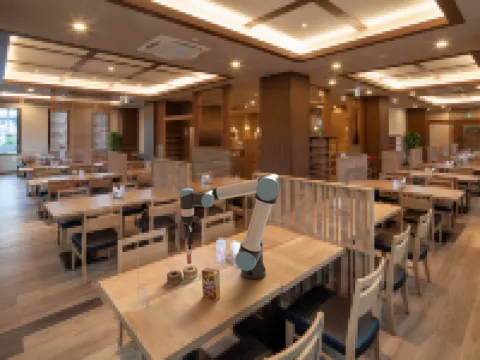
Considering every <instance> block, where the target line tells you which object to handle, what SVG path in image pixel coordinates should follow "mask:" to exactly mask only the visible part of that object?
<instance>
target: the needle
mask: <svg viewBox="0 0 480 360" xmlns="http://www.w3.org/2000/svg"><path fill="white" fill-rule="evenodd" d="M186 243H187V237H186ZM186 243H185V250H186V249H187V245H186ZM186 264H187V265H191V264H192V254H189V255H187V254H186Z"/></svg>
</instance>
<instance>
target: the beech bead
mask: <svg viewBox="0 0 480 360" xmlns="http://www.w3.org/2000/svg"><path fill="white" fill-rule="evenodd" d="M198 273H199V271H198V267H197V266H195V265H188V266H185V267H184V268H182V275H183V277H184V279H186V280H192V279H195V278H196V277H199V276H198Z"/></svg>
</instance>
